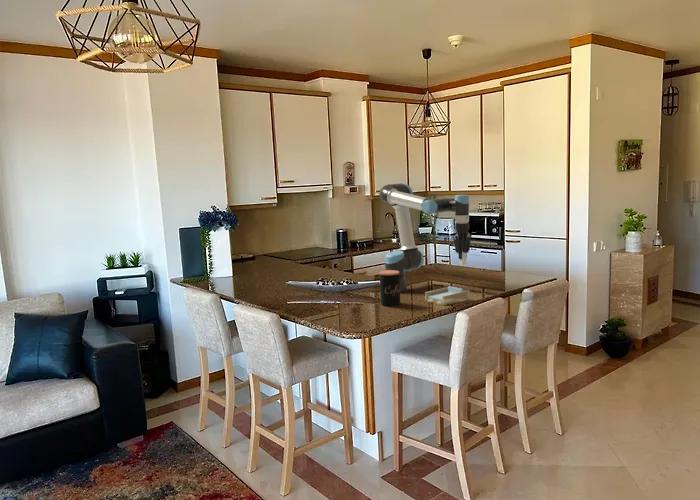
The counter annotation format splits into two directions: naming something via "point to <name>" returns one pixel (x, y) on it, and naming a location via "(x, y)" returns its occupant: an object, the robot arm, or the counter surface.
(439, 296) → the cover plate
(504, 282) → the counter surface
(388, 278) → the coffee jar
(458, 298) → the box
